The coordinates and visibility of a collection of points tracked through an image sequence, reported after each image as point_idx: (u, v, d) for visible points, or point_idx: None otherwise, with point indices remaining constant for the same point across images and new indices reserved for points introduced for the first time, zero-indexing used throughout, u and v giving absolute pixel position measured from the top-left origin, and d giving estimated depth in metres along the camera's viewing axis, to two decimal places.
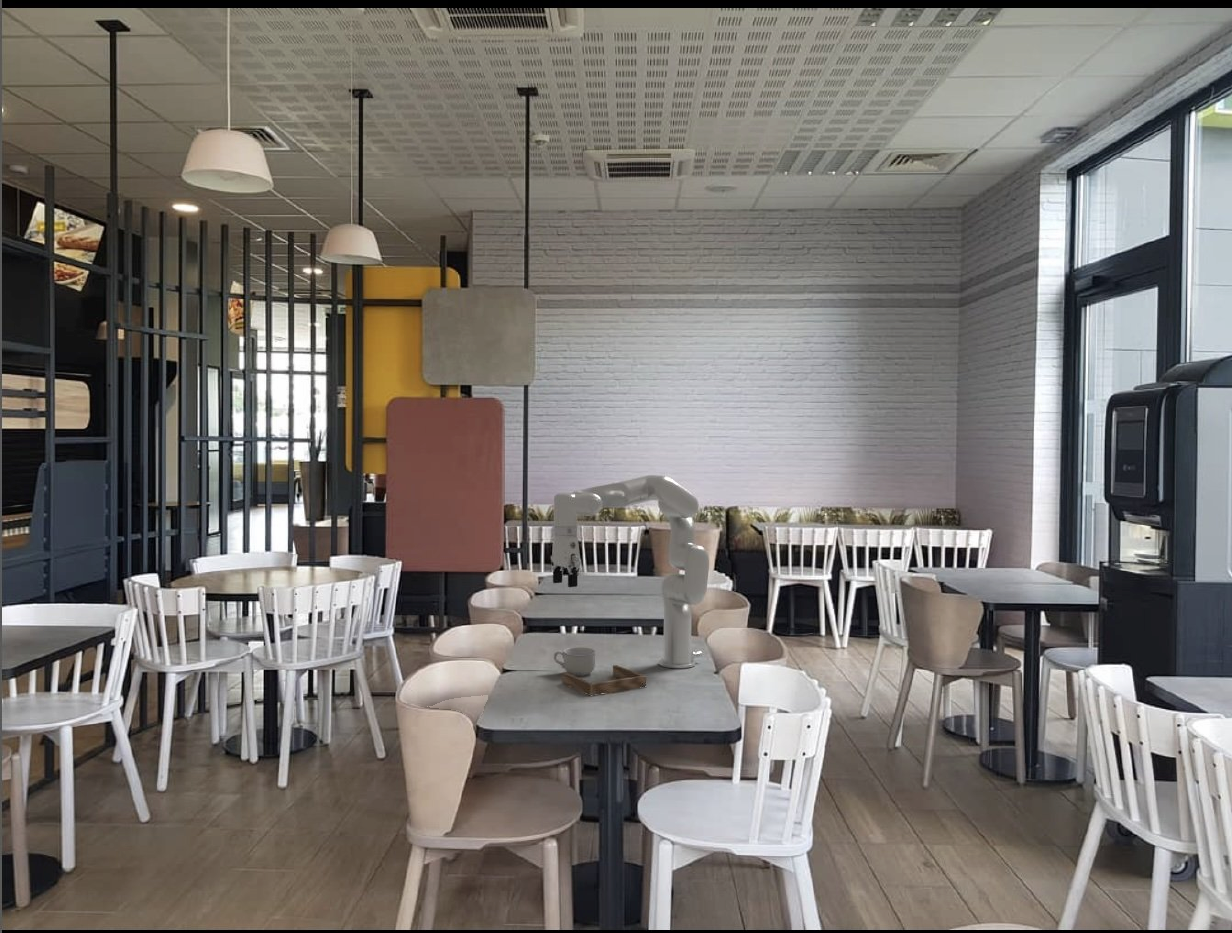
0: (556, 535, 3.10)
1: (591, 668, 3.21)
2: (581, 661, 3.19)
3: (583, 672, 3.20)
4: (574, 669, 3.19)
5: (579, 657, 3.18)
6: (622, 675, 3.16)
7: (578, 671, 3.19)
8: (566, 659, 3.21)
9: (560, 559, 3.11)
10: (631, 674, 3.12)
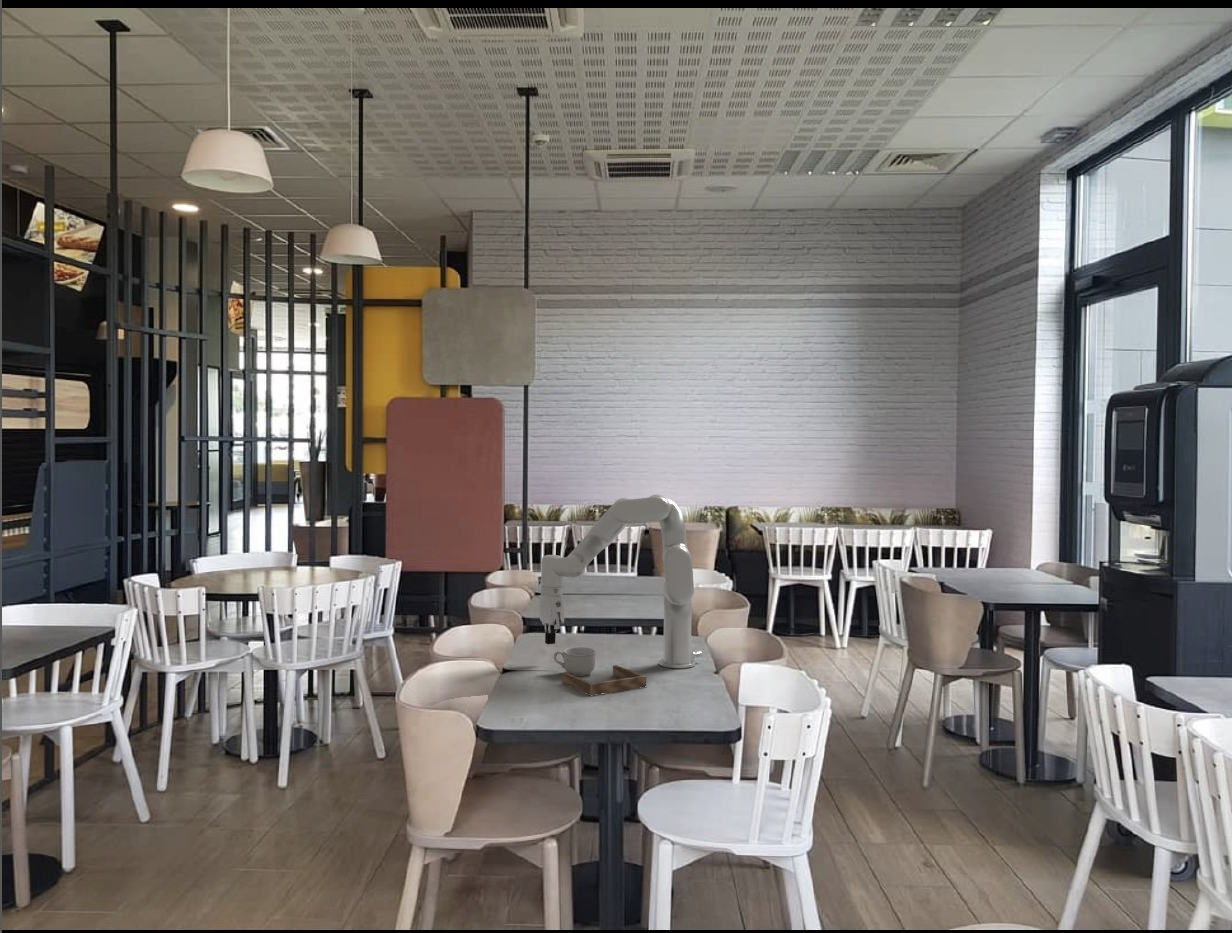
0: (543, 594, 3.35)
1: (591, 668, 3.21)
2: (581, 661, 3.19)
3: (583, 672, 3.20)
4: (574, 669, 3.19)
5: (579, 657, 3.18)
6: (622, 675, 3.16)
7: (578, 671, 3.19)
8: (566, 659, 3.21)
9: (546, 616, 3.35)
10: (631, 674, 3.12)
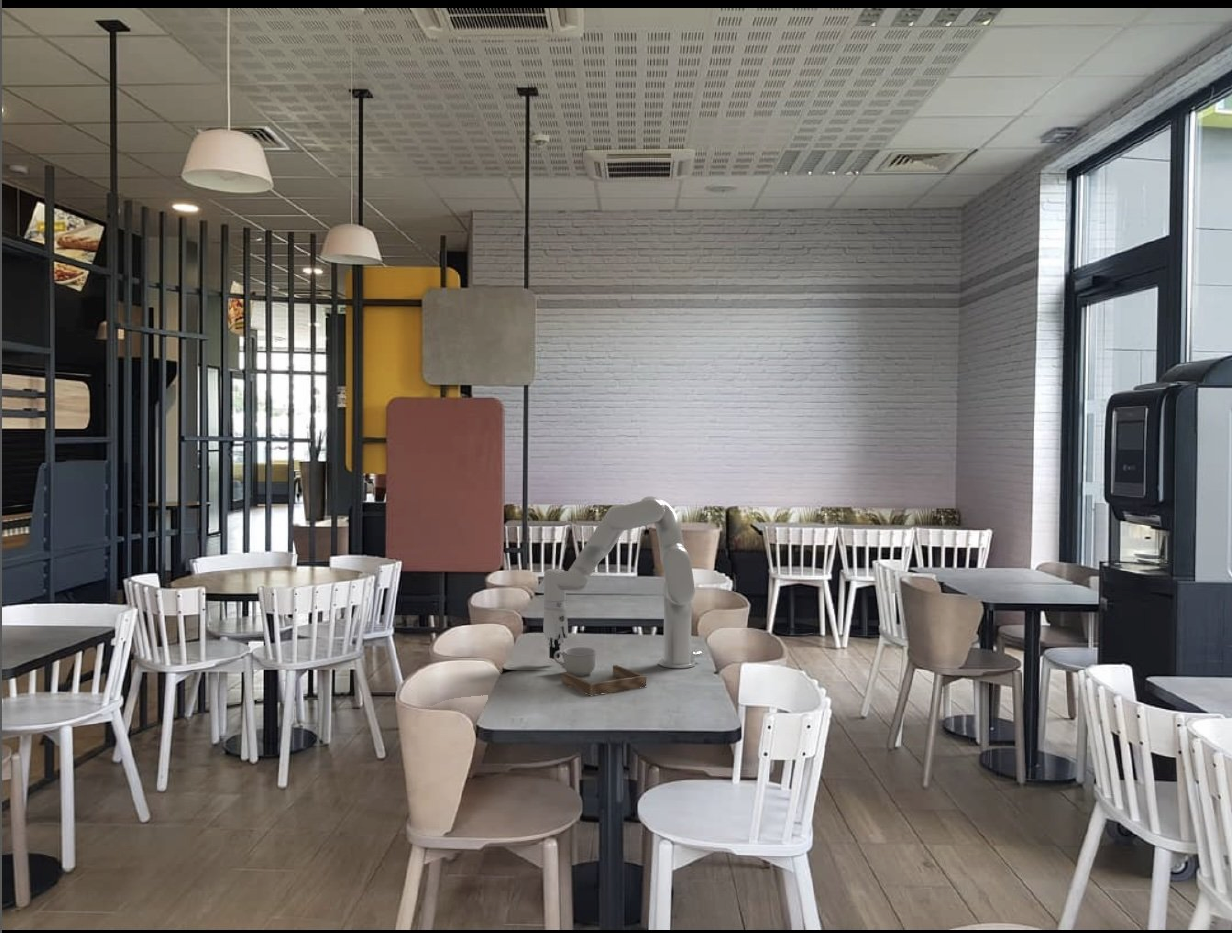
0: (546, 609, 3.33)
1: (591, 668, 3.21)
2: (581, 661, 3.19)
3: (583, 672, 3.20)
4: (574, 669, 3.19)
5: (579, 657, 3.18)
6: (622, 675, 3.16)
7: (578, 671, 3.19)
8: (566, 659, 3.21)
9: (550, 631, 3.34)
10: (631, 674, 3.12)
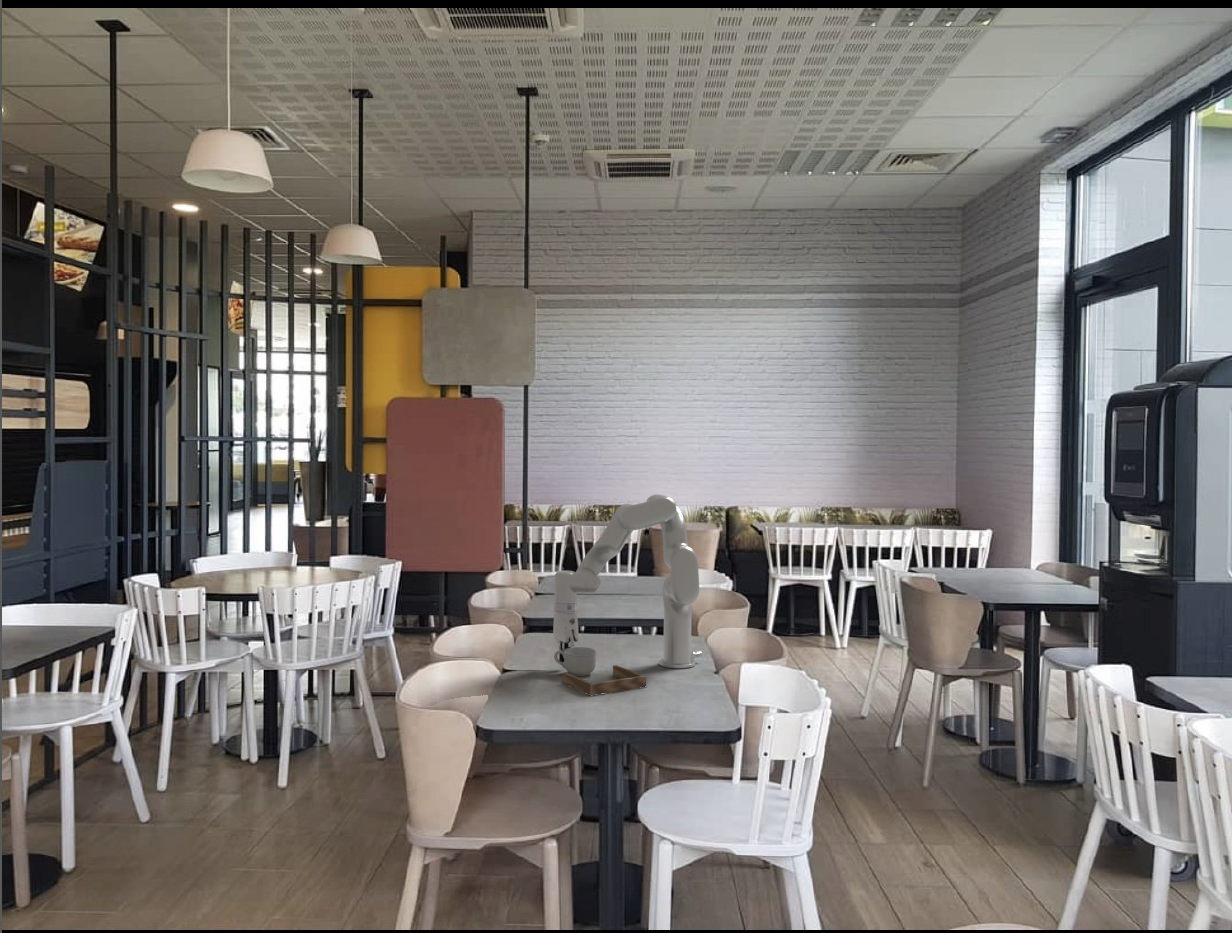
0: (556, 611, 3.27)
1: (592, 668, 3.21)
2: (582, 661, 3.18)
3: (584, 672, 3.19)
4: (574, 669, 3.19)
5: (580, 657, 3.18)
6: (622, 675, 3.16)
7: (579, 671, 3.19)
8: (567, 659, 3.20)
9: (560, 634, 3.27)
10: (631, 674, 3.12)
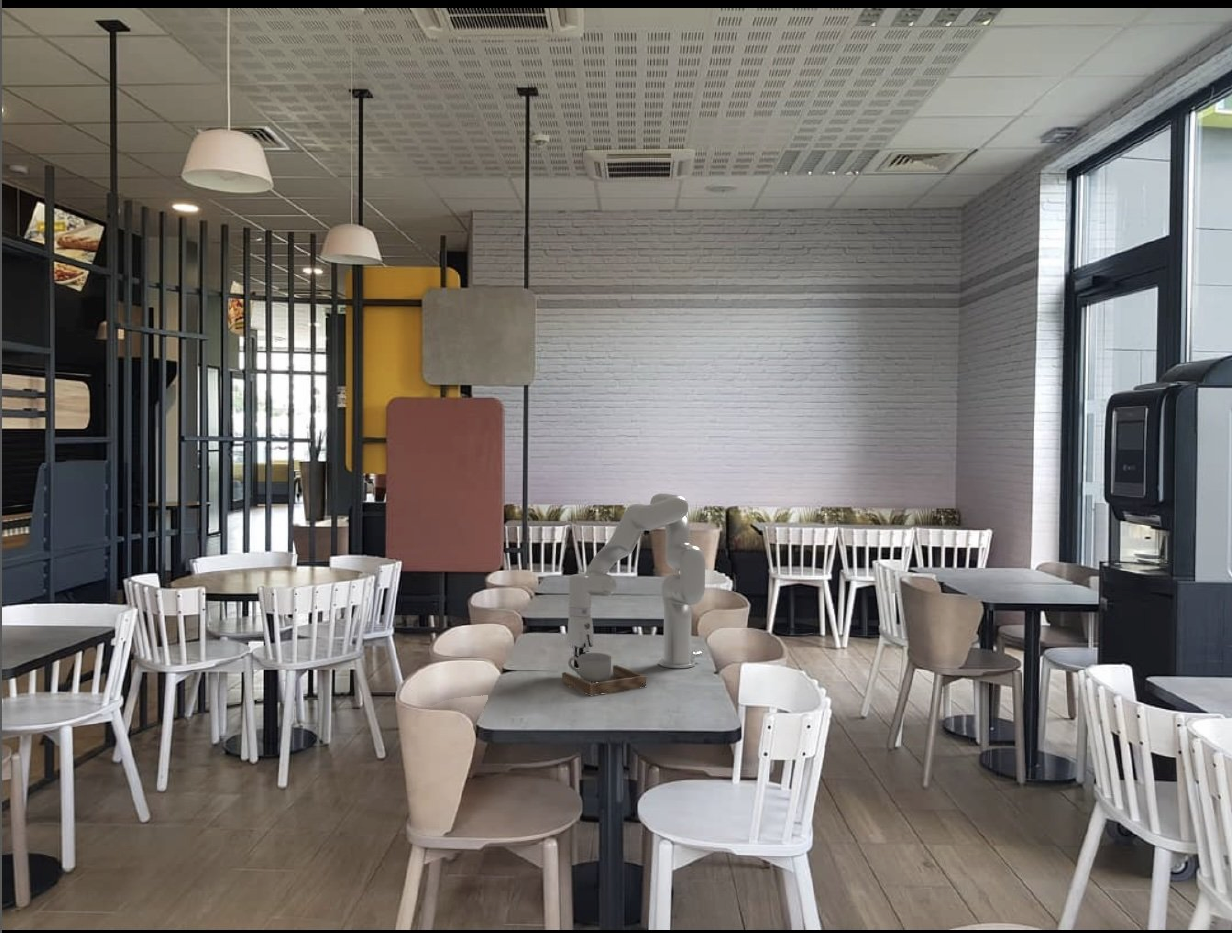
0: (571, 616, 3.18)
1: (607, 675, 3.12)
2: (596, 668, 3.10)
3: (598, 679, 3.11)
4: (589, 676, 3.10)
5: (594, 663, 3.09)
6: (622, 675, 3.16)
7: (593, 678, 3.10)
8: (581, 665, 3.12)
9: (575, 639, 3.19)
10: (631, 674, 3.12)
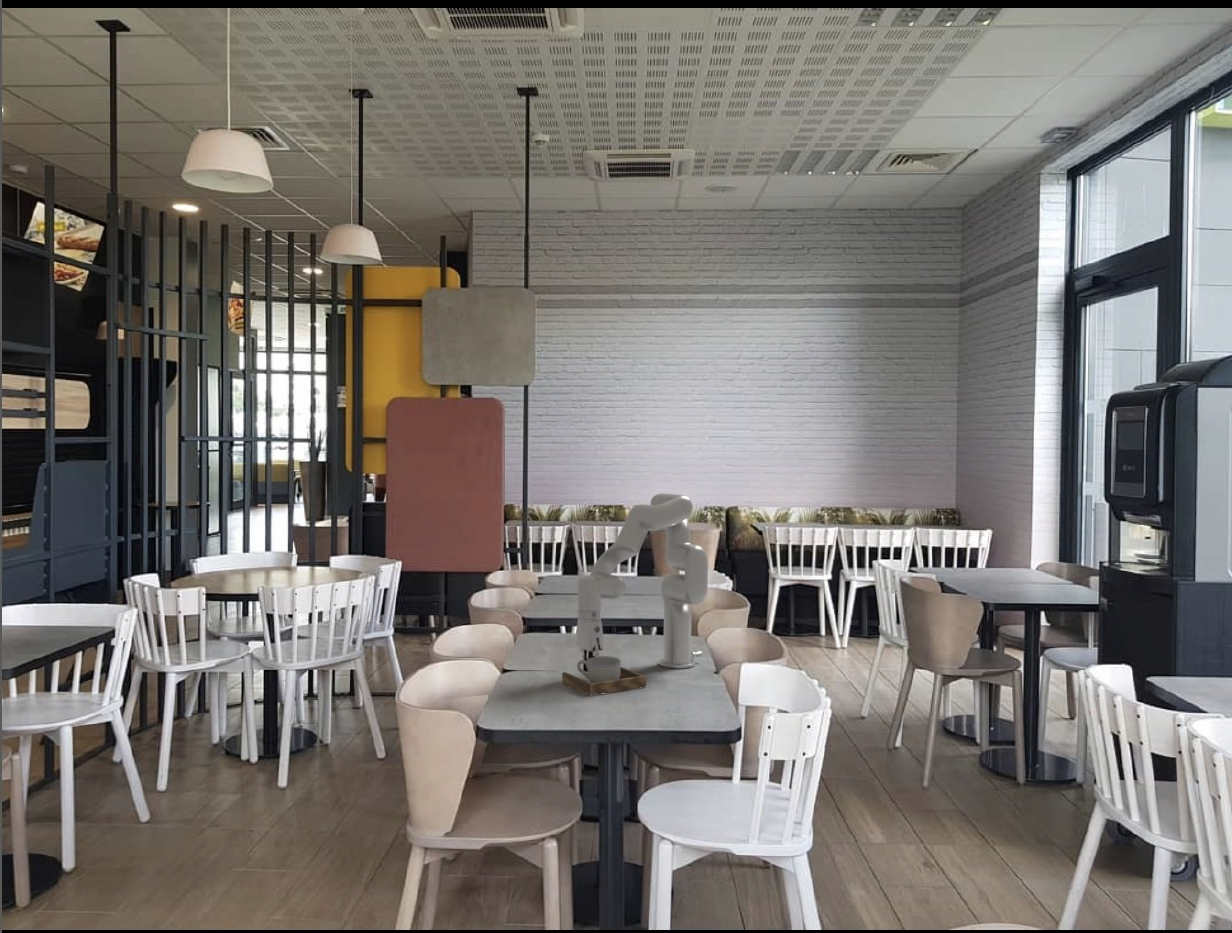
0: (580, 619, 3.13)
1: (616, 679, 3.07)
2: (605, 672, 3.04)
3: None
4: (597, 680, 3.05)
5: (603, 667, 3.04)
6: (622, 675, 3.16)
7: None
8: (590, 669, 3.07)
9: (584, 642, 3.14)
10: (631, 674, 3.12)
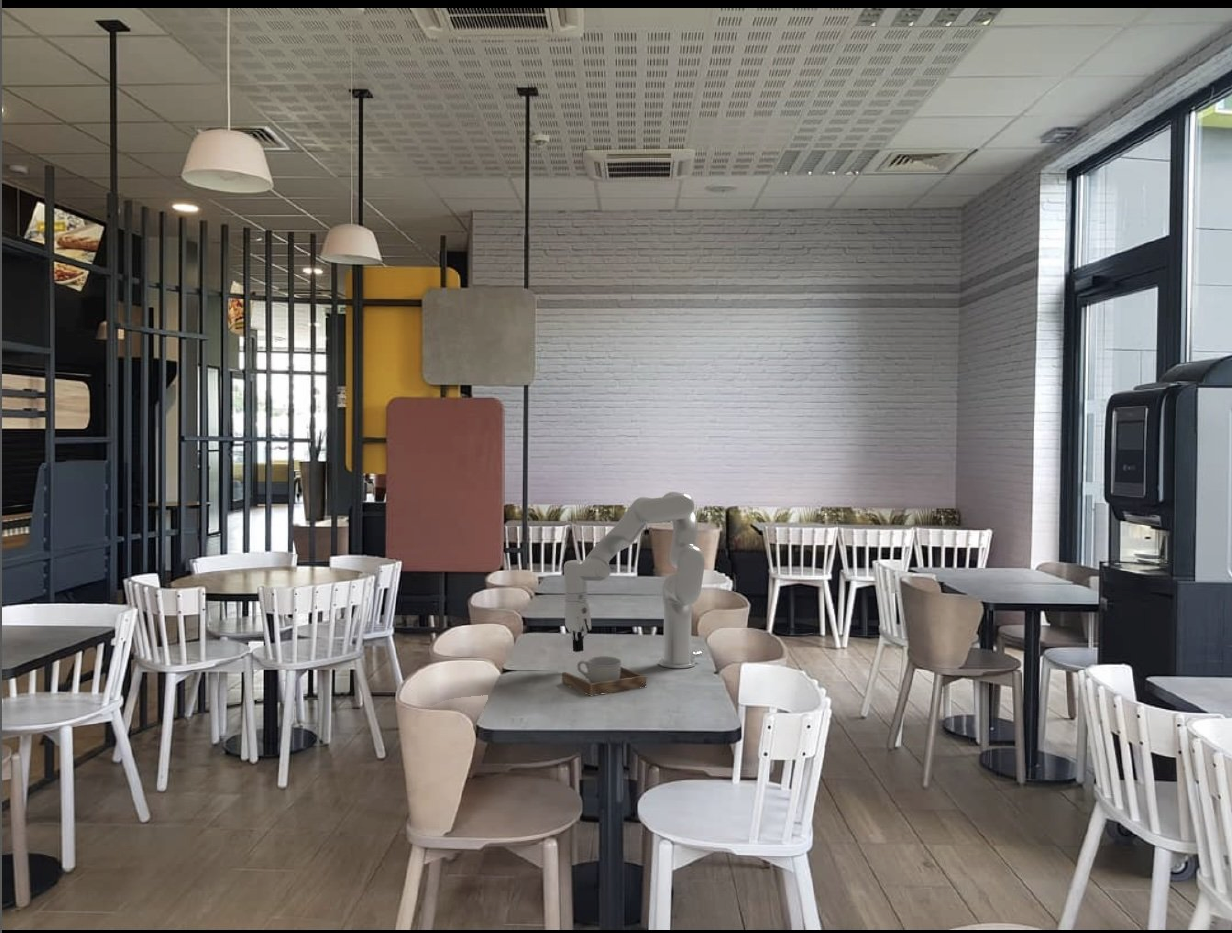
0: (568, 601, 3.25)
1: (616, 679, 3.07)
2: (605, 672, 3.04)
3: None
4: (598, 680, 3.05)
5: (603, 667, 3.04)
6: (622, 675, 3.16)
7: None
8: (590, 669, 3.07)
9: (572, 624, 3.26)
10: (631, 674, 3.12)
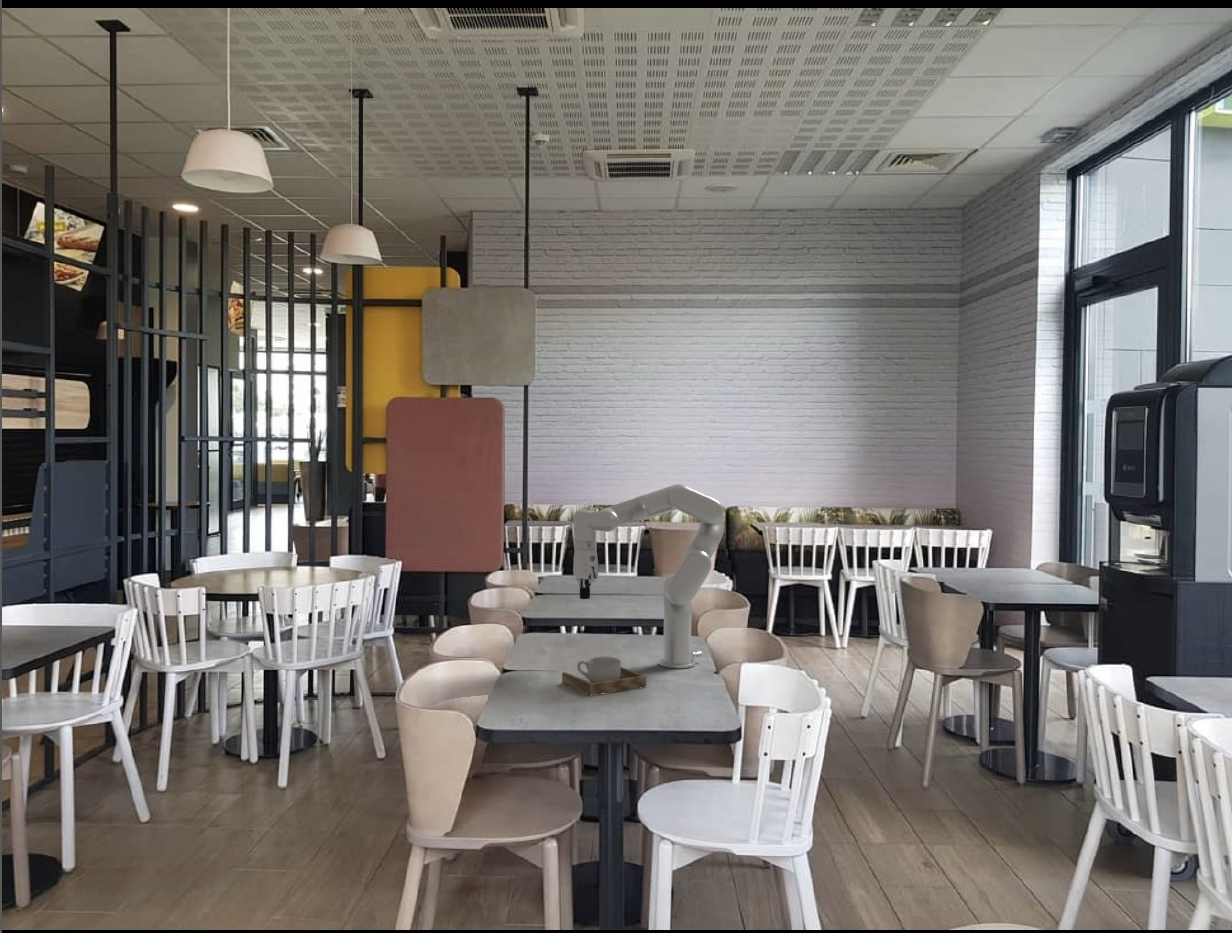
0: (577, 549, 3.33)
1: (616, 679, 3.07)
2: (605, 672, 3.04)
3: None
4: (598, 680, 3.05)
5: (603, 667, 3.04)
6: (622, 675, 3.16)
7: None
8: (590, 669, 3.07)
9: (580, 571, 3.34)
10: (631, 674, 3.12)
